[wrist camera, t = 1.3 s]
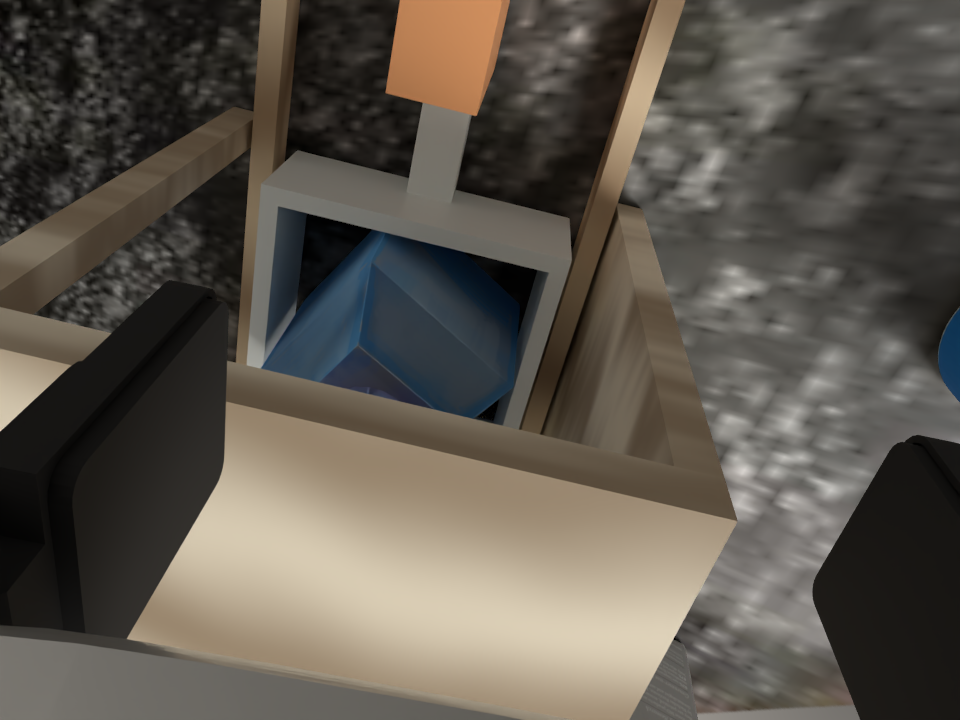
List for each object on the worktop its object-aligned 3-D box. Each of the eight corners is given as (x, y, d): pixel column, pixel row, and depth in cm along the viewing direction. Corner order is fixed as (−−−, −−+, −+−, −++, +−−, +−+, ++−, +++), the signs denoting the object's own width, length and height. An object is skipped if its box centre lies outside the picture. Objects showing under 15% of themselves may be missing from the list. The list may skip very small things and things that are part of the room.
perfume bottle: (305, 299, 31) (181, 490, 21) (404, 196, 28) (321, 355, 18) (417, 393, 33) (355, 611, 23) (520, 304, 30) (503, 505, 20)
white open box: (321, -80, 24) (242, -79, 18) (634, 3, 24) (662, 31, 18) (273, 380, 33) (210, 485, 27) (503, 434, 33) (492, 549, 27)
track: (313, -463, 20) (296, -490, 18) (785, -328, 20) (801, -345, 19) (244, 396, 34) (231, 415, 32) (524, 461, 34) (523, 483, 33)
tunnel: (233, 106, 27) (-123, 319, 13) (642, 209, 28) (737, 520, 13) (218, 380, 33) (-36, 733, 19) (553, 459, 34) (553, 857, 20)
